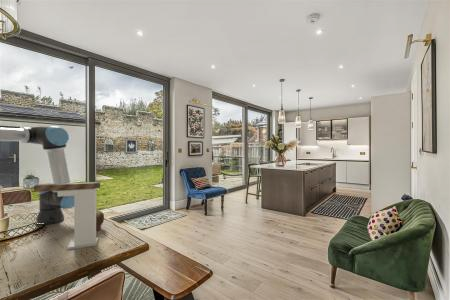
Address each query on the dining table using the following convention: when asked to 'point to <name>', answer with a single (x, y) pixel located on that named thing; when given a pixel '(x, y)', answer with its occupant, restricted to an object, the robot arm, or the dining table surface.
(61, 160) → the robot arm
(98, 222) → the shell
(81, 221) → the white upright panel
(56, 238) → the dining table surface
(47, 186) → the lever
